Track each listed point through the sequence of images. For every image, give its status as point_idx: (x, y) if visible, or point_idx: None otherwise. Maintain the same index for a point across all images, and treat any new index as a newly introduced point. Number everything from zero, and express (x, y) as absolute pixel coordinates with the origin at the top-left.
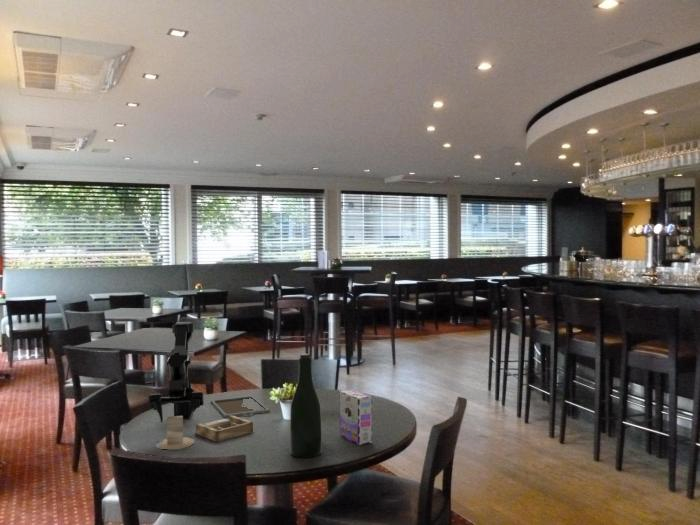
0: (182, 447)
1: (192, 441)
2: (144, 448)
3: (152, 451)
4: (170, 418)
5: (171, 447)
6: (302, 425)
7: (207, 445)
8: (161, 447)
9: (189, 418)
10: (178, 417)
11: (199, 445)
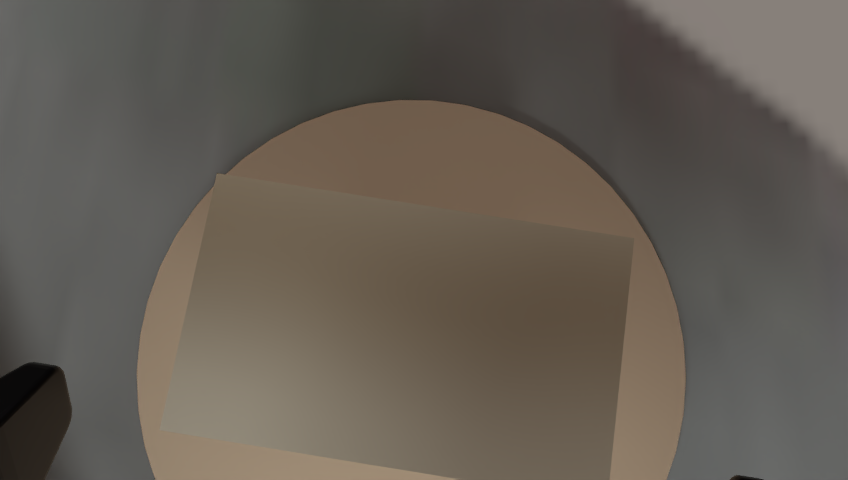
0: (333, 125)
1: (167, 335)
2: (822, 319)
3: (710, 154)
4: (537, 250)
5: (472, 180)
6: None
7: (10, 129)
8: (602, 228)
9: (15, 371)
10: (306, 272)
11: (107, 168)
